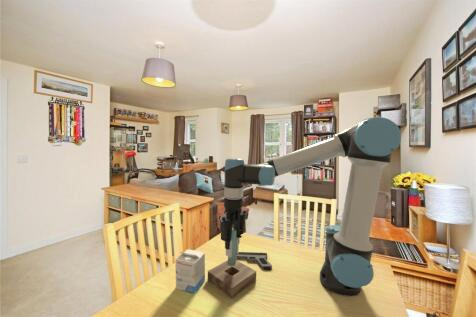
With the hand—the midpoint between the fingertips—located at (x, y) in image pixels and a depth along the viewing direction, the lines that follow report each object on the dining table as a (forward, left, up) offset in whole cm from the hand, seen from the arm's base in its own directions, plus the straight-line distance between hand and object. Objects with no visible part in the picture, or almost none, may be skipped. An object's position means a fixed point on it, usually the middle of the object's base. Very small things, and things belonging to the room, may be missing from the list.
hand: (232, 254), depth 83 cm
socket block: (0, 0, -11) cm, 11 cm away
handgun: (+2, -17, -12) cm, 21 cm away
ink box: (+10, +13, -11) cm, 20 cm away
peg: (0, 0, -4) cm, 4 cm away
